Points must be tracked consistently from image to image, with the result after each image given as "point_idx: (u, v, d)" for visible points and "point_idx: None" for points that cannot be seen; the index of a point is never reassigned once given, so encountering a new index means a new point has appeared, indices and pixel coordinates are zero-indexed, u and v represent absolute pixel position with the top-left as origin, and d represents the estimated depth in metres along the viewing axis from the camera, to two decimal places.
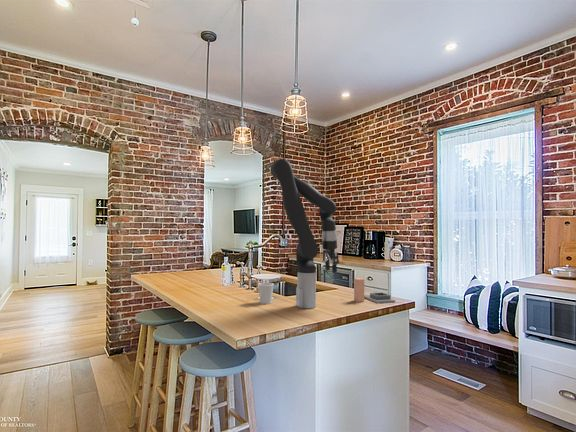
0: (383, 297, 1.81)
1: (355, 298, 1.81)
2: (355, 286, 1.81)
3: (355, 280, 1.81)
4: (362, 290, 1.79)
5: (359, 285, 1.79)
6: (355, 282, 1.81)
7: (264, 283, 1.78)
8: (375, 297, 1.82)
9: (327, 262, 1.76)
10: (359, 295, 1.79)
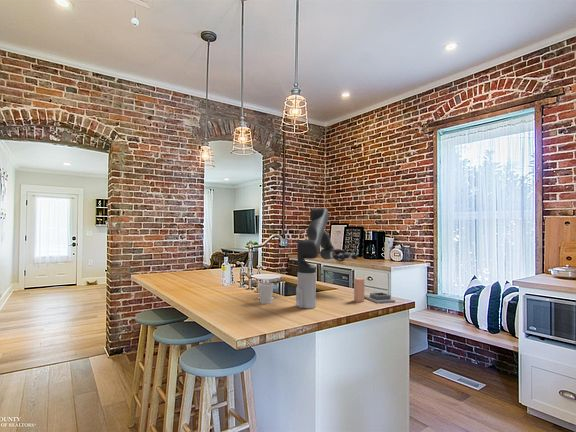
0: (383, 297, 1.81)
1: (355, 298, 1.81)
2: (355, 286, 1.81)
3: (355, 280, 1.81)
4: (362, 290, 1.79)
5: (359, 285, 1.79)
6: (355, 282, 1.81)
7: (264, 283, 1.78)
8: (375, 297, 1.82)
9: None
10: (359, 295, 1.79)
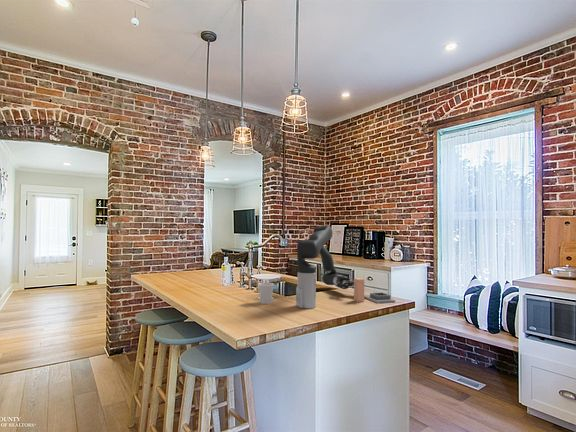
0: (383, 297, 1.81)
1: (355, 298, 1.81)
2: (355, 286, 1.81)
3: (355, 280, 1.81)
4: (362, 290, 1.79)
5: (359, 285, 1.79)
6: (355, 282, 1.81)
7: (264, 283, 1.78)
8: (375, 297, 1.82)
9: None
10: (359, 295, 1.79)
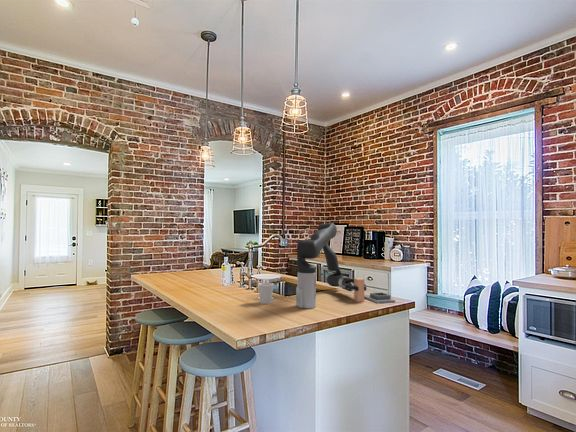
0: (383, 297, 1.81)
1: (355, 298, 1.81)
2: None
3: (355, 280, 1.81)
4: (362, 290, 1.79)
5: (359, 285, 1.79)
6: (355, 282, 1.81)
7: (264, 283, 1.78)
8: (375, 297, 1.82)
9: None
10: (359, 295, 1.79)
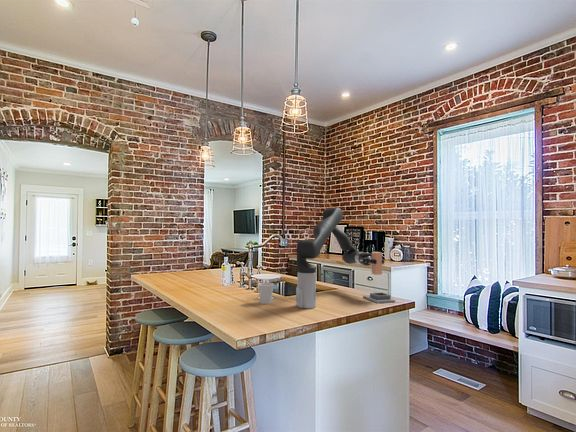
0: (383, 297, 1.81)
1: (373, 271, 1.85)
2: None
3: (373, 254, 1.85)
4: (380, 263, 1.84)
5: (377, 258, 1.83)
6: (373, 256, 1.85)
7: (264, 283, 1.78)
8: (375, 297, 1.82)
9: None
10: (377, 268, 1.83)
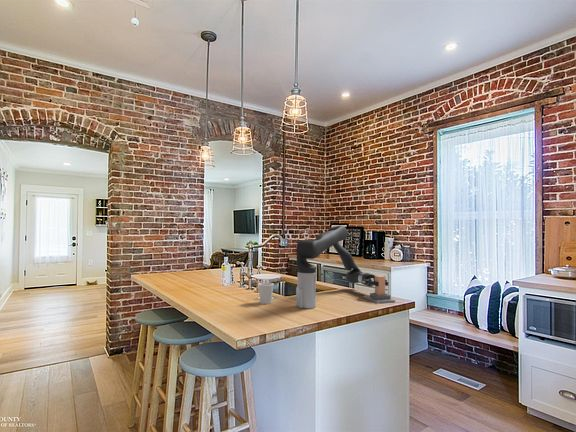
0: (383, 297, 1.81)
1: None
2: None
3: (376, 277, 1.85)
4: (383, 287, 1.83)
5: (380, 282, 1.83)
6: (376, 280, 1.85)
7: (264, 283, 1.78)
8: (375, 297, 1.82)
9: None
10: (380, 292, 1.83)
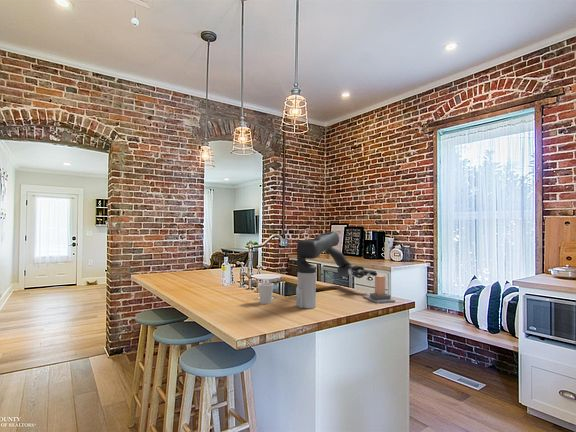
0: (383, 297, 1.81)
1: None
2: (376, 283, 1.85)
3: (376, 277, 1.85)
4: (383, 287, 1.83)
5: (380, 282, 1.83)
6: (376, 280, 1.85)
7: (264, 283, 1.78)
8: (375, 297, 1.82)
9: None
10: (380, 292, 1.83)
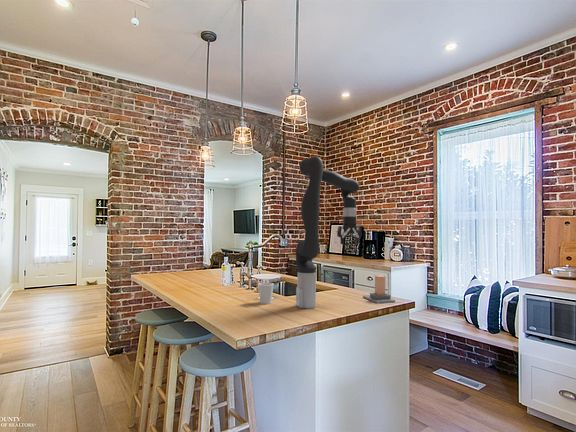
0: (383, 297, 1.81)
1: None
2: (376, 283, 1.85)
3: (376, 277, 1.85)
4: (383, 287, 1.83)
5: (380, 282, 1.83)
6: (376, 280, 1.85)
7: (264, 283, 1.78)
8: (375, 297, 1.82)
9: None
10: (380, 292, 1.83)
